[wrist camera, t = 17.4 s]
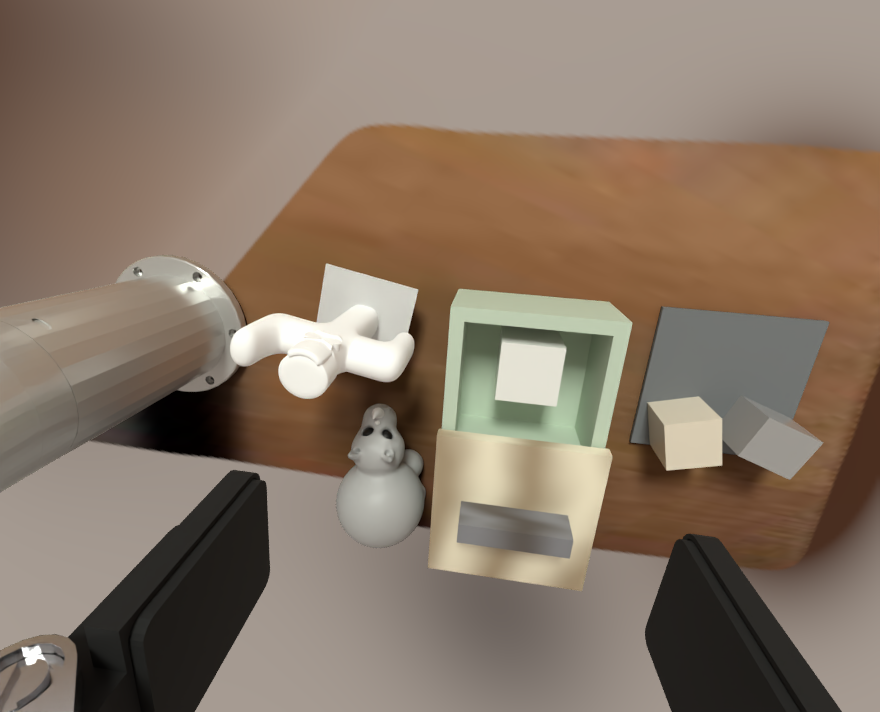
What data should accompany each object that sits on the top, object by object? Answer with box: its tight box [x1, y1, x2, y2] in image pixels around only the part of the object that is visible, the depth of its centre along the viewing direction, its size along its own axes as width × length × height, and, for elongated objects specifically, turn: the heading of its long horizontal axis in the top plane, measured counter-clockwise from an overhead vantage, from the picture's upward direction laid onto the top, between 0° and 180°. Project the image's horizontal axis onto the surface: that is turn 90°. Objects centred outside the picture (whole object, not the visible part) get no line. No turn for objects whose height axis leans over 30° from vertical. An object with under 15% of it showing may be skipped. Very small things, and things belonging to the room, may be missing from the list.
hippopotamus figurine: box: [336, 404, 426, 548], centre depth 37 cm, size 8×12×9 cm, turn 178°
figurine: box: [230, 264, 418, 399], centre depth 30 cm, size 7×9×15 cm
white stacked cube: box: [495, 325, 566, 407], centre depth 34 cm, size 4×4×5 cm
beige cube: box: [647, 396, 722, 471], centre depth 35 cm, size 4×4×4 cm
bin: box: [442, 289, 632, 449], centre depth 36 cm, size 12×20×6 cm, turn 176°
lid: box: [428, 429, 613, 591], centre depth 32 cm, size 12×12×4 cm
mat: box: [630, 307, 829, 455], centre depth 36 cm, size 12×12×1 cm
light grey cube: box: [722, 395, 823, 480], centre depth 34 cm, size 4×4×4 cm
